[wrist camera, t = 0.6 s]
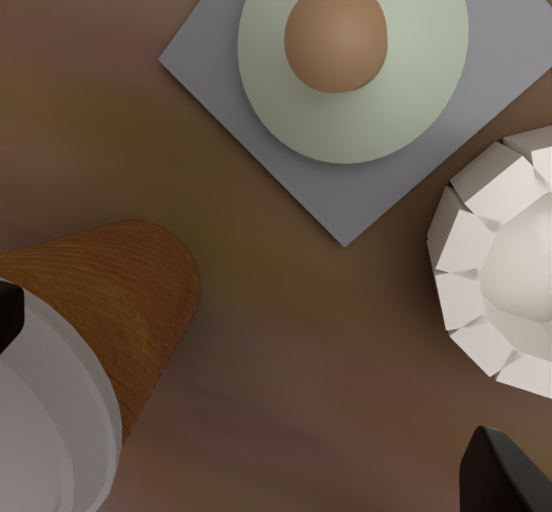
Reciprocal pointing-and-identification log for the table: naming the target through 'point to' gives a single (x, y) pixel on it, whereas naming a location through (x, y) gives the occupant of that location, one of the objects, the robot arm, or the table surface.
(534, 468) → the robot arm
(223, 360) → the table surface
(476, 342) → the bowl
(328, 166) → the coaster
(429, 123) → the lid
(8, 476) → the disposable coffee cup
